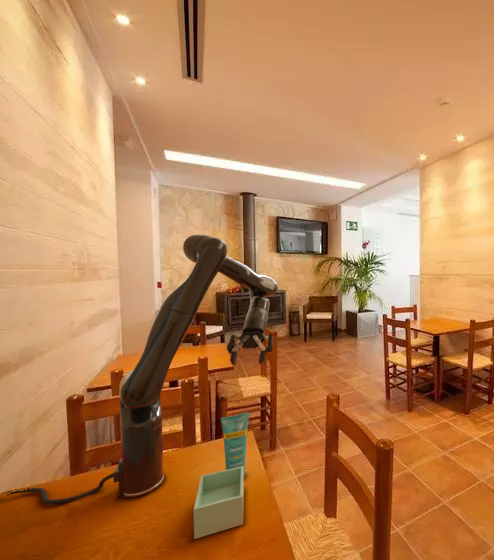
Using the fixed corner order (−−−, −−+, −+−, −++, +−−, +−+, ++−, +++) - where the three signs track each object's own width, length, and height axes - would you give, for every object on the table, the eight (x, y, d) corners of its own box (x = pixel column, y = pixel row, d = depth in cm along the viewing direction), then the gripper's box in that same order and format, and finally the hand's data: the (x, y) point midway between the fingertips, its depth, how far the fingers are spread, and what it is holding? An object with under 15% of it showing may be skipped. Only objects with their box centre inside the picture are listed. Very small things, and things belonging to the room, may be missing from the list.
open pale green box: (194, 539, 69) (193, 509, 68) (201, 501, 80) (201, 475, 80) (243, 524, 73) (242, 496, 73) (243, 490, 84) (243, 465, 84)
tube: (222, 488, 85) (221, 421, 84) (220, 478, 89) (219, 414, 88) (251, 478, 89) (250, 414, 88) (247, 469, 93) (247, 407, 92)
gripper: (232, 316, 106) (220, 358, 95) (274, 316, 108) (267, 357, 97) (238, 328, 112) (227, 369, 101) (277, 327, 113) (271, 367, 103)
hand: (246, 363), depth 99 cm, fingers open, 8 cm apart
